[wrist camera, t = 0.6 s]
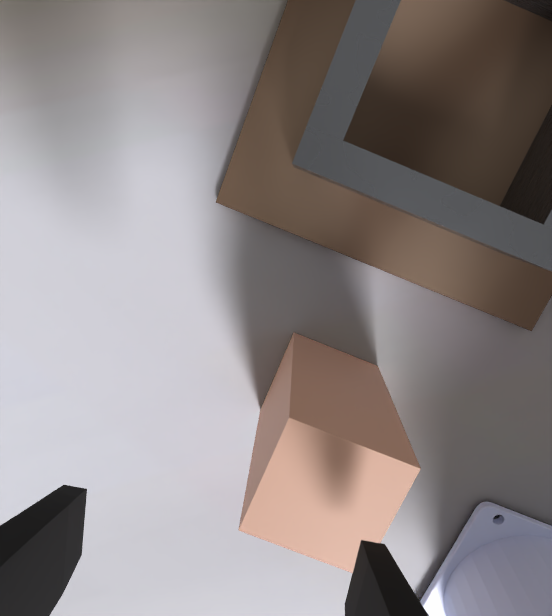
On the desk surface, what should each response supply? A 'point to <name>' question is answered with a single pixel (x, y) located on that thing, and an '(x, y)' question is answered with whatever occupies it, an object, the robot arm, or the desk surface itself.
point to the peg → (326, 456)
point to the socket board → (411, 143)
